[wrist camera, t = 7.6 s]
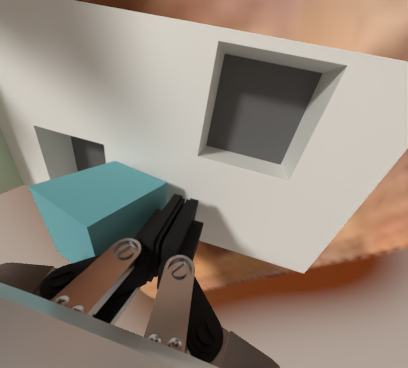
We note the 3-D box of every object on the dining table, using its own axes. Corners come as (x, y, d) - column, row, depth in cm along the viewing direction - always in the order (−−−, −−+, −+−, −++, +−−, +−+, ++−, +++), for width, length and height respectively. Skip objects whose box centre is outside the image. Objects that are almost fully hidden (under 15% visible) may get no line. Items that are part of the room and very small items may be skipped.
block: (115, 160, 13) (28, 186, 9) (166, 182, 11) (86, 227, 7) (122, 212, 15) (57, 250, 11) (165, 237, 13) (106, 293, 9)
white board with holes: (-7, -1, 12) (-170, -64, 7) (407, 79, 9) (574, 62, 5) (46, 170, 19) (-20, 195, 14) (294, 245, 16) (314, 306, 12)
